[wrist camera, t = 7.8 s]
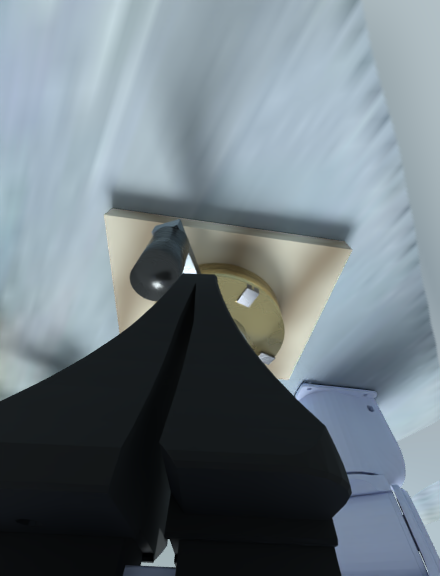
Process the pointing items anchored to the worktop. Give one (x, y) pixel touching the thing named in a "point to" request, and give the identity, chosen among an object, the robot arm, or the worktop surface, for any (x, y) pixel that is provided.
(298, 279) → the beige flat board
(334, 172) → the worktop surface
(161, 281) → the crank handle
